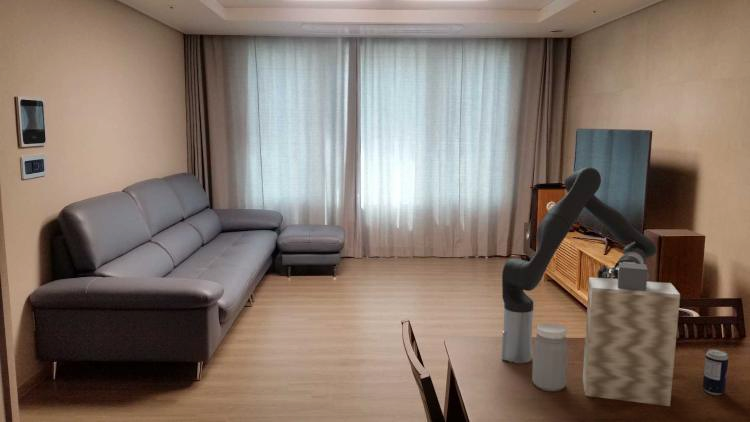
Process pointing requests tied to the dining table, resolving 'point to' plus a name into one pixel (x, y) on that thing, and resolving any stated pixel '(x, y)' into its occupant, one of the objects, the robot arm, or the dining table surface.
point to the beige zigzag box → (630, 341)
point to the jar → (550, 357)
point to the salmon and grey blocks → (632, 276)
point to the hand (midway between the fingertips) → (617, 283)
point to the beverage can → (715, 371)
